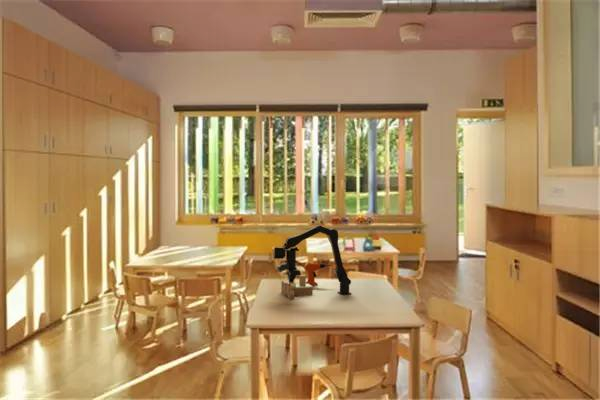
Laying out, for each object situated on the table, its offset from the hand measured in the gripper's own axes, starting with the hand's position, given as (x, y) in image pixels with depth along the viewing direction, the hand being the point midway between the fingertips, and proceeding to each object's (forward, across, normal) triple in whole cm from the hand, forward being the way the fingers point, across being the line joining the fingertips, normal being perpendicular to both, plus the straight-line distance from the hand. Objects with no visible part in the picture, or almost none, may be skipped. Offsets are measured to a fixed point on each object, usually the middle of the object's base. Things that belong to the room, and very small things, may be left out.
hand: (290, 285), depth 293 cm
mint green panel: (+2, -3, +6) cm, 8 cm away
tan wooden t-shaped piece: (+6, 0, +5) cm, 8 cm away
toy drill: (+6, -24, +26) cm, 36 cm away
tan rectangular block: (+1, +3, 0) cm, 3 cm away
